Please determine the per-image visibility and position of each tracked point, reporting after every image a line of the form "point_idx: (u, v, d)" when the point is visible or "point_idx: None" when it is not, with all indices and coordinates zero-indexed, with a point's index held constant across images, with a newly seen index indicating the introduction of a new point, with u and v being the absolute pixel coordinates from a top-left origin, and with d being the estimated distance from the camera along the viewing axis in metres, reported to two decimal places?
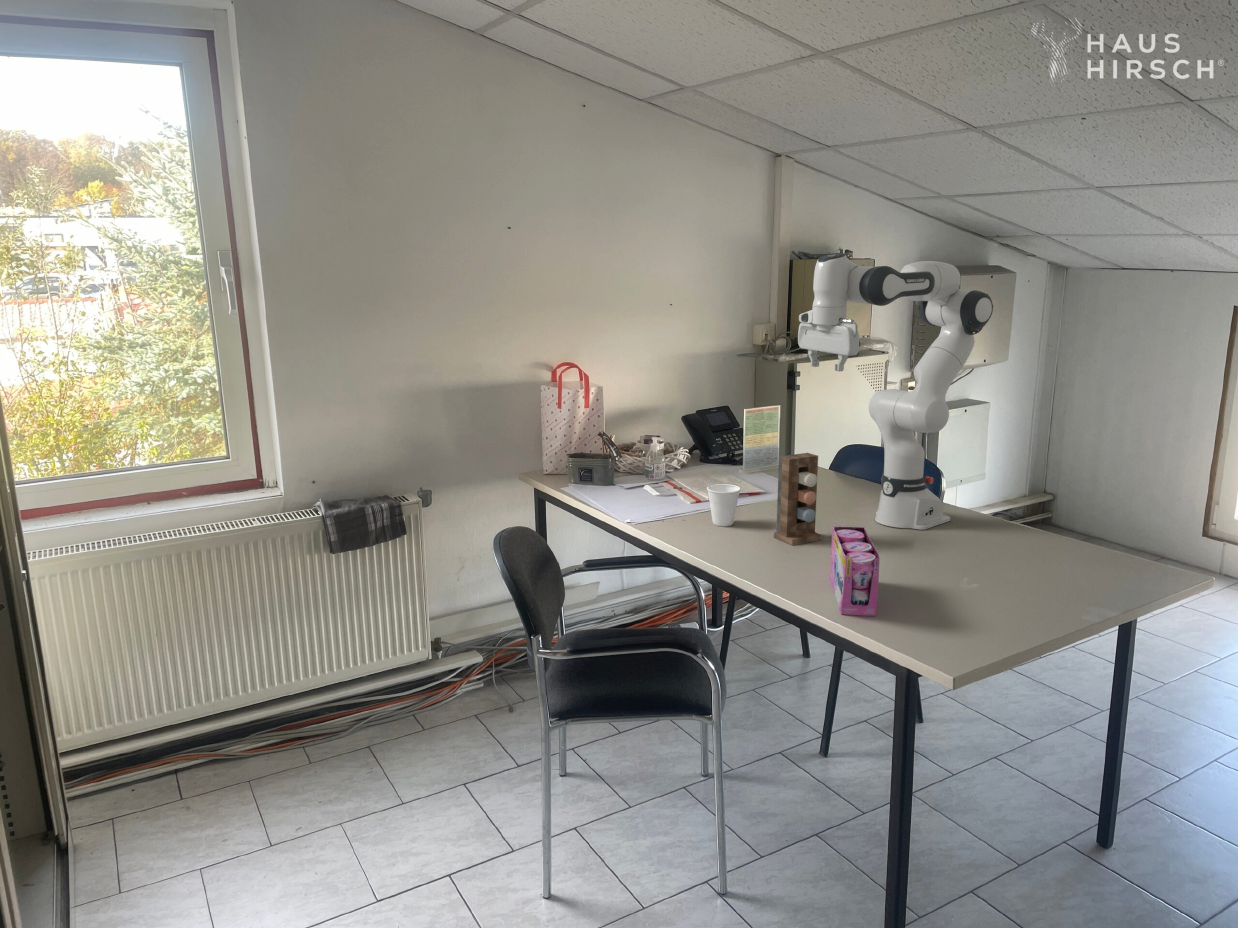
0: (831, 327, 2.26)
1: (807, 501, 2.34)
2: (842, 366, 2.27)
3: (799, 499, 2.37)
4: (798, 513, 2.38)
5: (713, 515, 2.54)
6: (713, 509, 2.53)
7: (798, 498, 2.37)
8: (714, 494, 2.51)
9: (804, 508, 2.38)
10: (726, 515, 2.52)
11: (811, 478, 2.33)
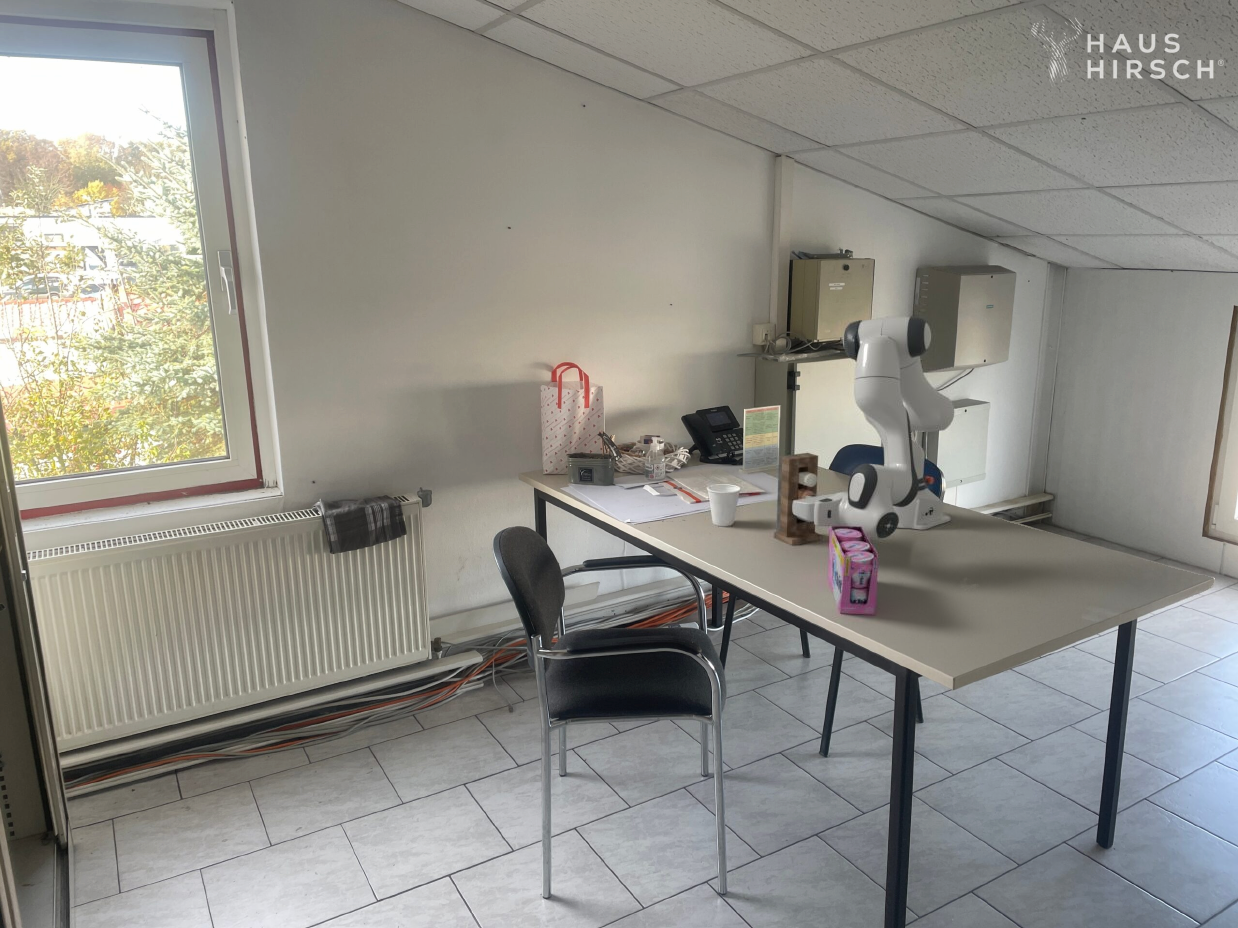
0: None
1: None
2: None
3: (797, 498, 2.37)
4: None
5: (713, 515, 2.54)
6: (713, 509, 2.53)
7: None
8: (714, 494, 2.51)
9: None
10: (726, 515, 2.52)
11: (811, 478, 2.33)
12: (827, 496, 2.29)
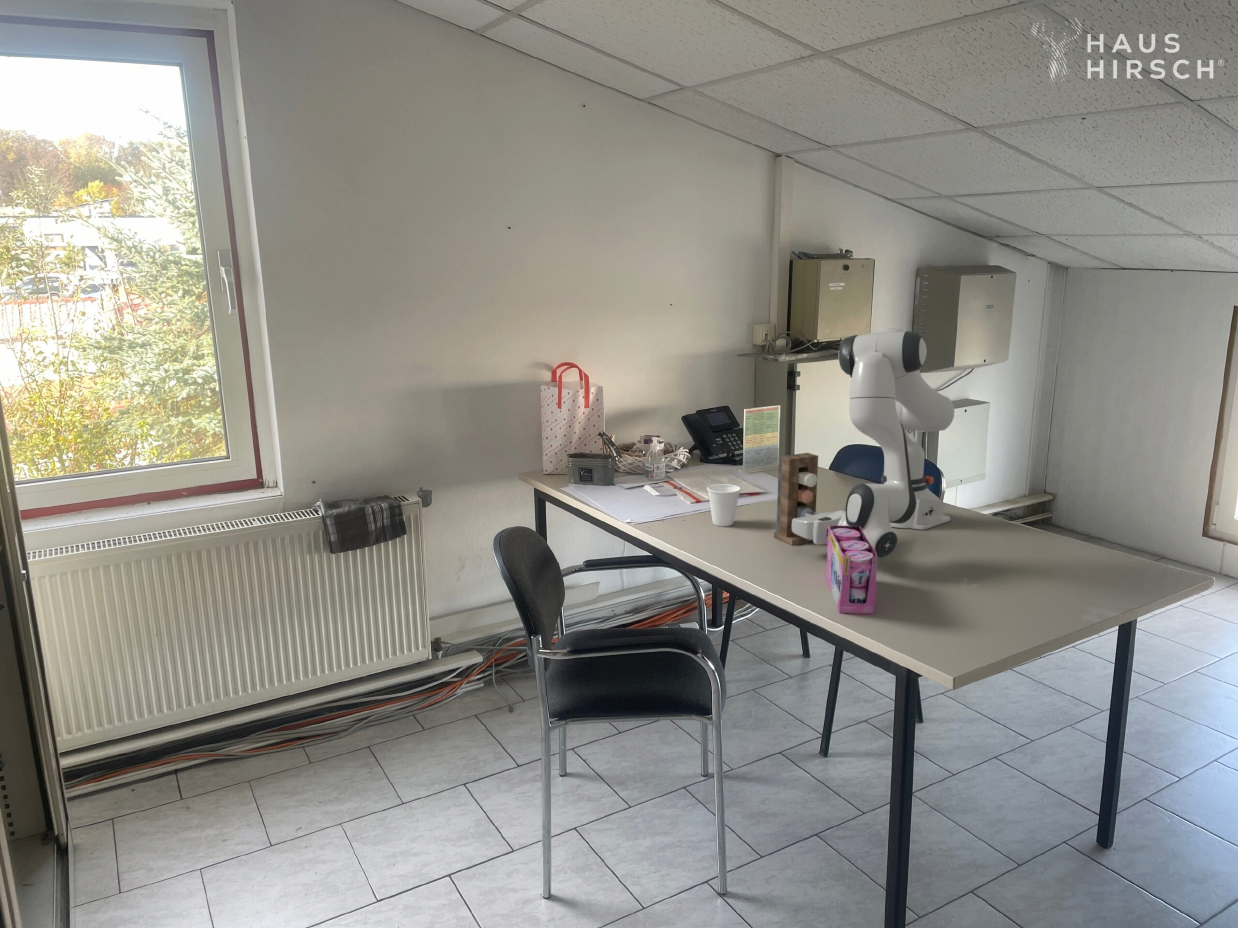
0: None
1: (804, 500, 2.35)
2: None
3: None
4: None
5: (713, 515, 2.54)
6: (713, 509, 2.53)
7: None
8: (714, 494, 2.51)
9: (801, 507, 2.39)
10: (726, 515, 2.52)
11: (811, 478, 2.33)
12: (826, 514, 2.30)
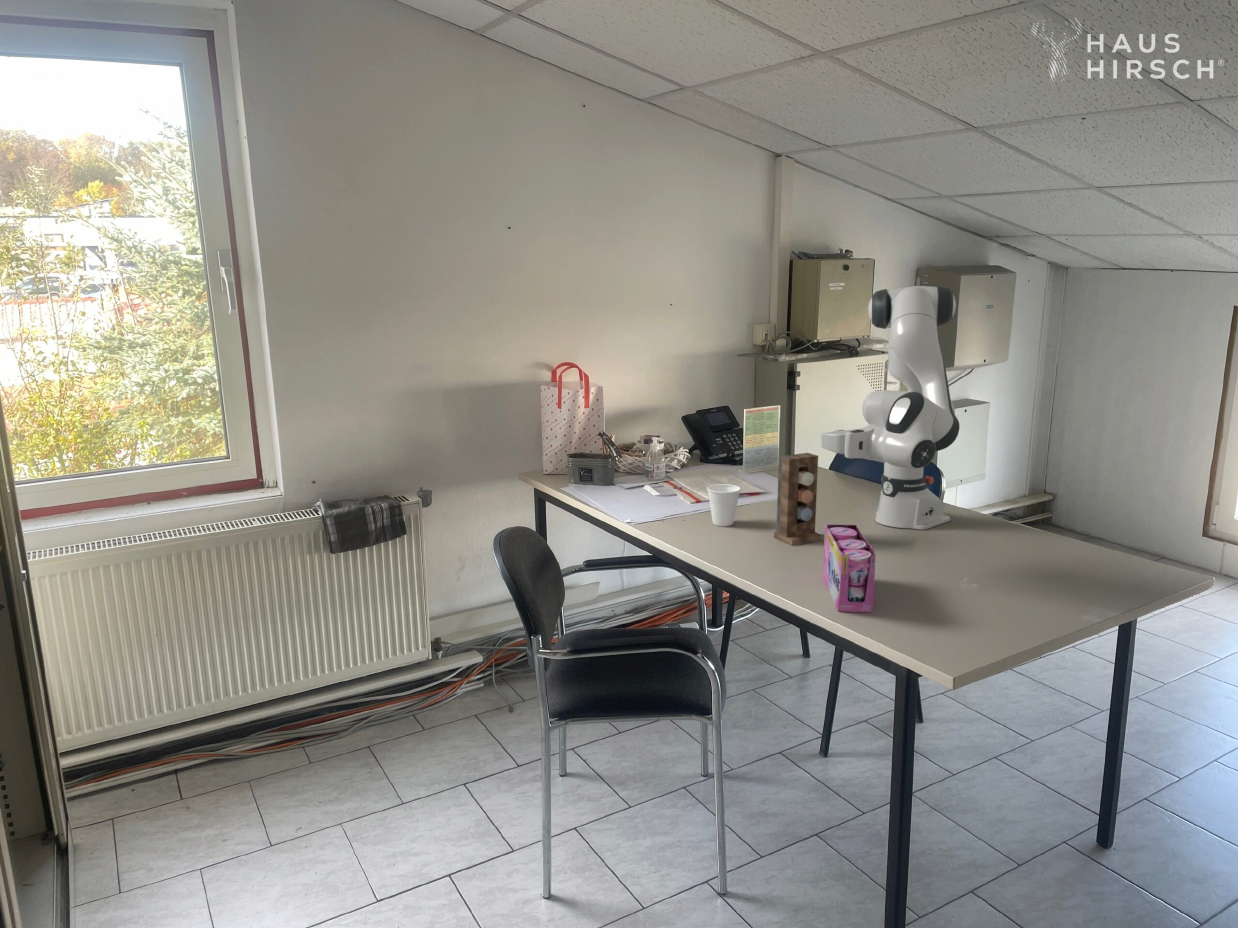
0: None
1: (804, 500, 2.35)
2: None
3: None
4: None
5: (713, 515, 2.54)
6: (713, 509, 2.53)
7: None
8: (714, 494, 2.51)
9: (801, 507, 2.39)
10: (726, 515, 2.52)
11: (808, 477, 2.34)
12: (857, 430, 2.19)
